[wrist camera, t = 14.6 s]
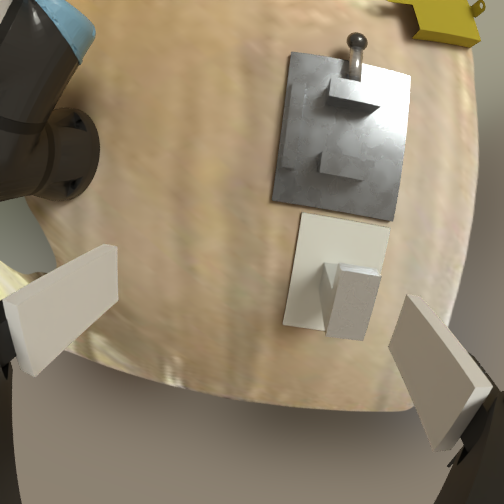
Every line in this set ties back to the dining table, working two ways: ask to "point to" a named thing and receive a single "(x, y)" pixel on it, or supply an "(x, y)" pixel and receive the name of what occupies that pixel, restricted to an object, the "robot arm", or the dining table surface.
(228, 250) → the dining table surface
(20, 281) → the dining table surface
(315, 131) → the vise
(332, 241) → the mat
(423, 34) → the bracket
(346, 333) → the gray rectangular block
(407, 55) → the dining table surface
